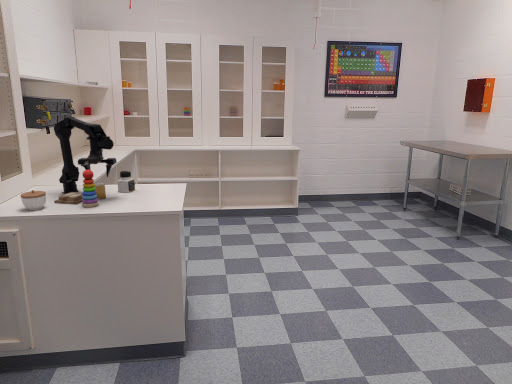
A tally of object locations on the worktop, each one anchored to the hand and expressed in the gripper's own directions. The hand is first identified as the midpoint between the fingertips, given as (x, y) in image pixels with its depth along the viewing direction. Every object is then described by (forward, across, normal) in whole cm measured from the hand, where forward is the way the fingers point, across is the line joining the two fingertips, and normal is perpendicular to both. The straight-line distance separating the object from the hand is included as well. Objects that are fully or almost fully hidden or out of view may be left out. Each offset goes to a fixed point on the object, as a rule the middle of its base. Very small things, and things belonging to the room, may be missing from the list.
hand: (98, 176), depth 204 cm
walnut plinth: (+12, -12, -5) cm, 18 cm away
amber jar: (+12, 0, 0) cm, 12 cm away
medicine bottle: (+12, +10, +15) cm, 22 cm away
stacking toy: (+12, 0, -16) cm, 20 cm away
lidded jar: (+12, -25, -19) cm, 34 cm away
